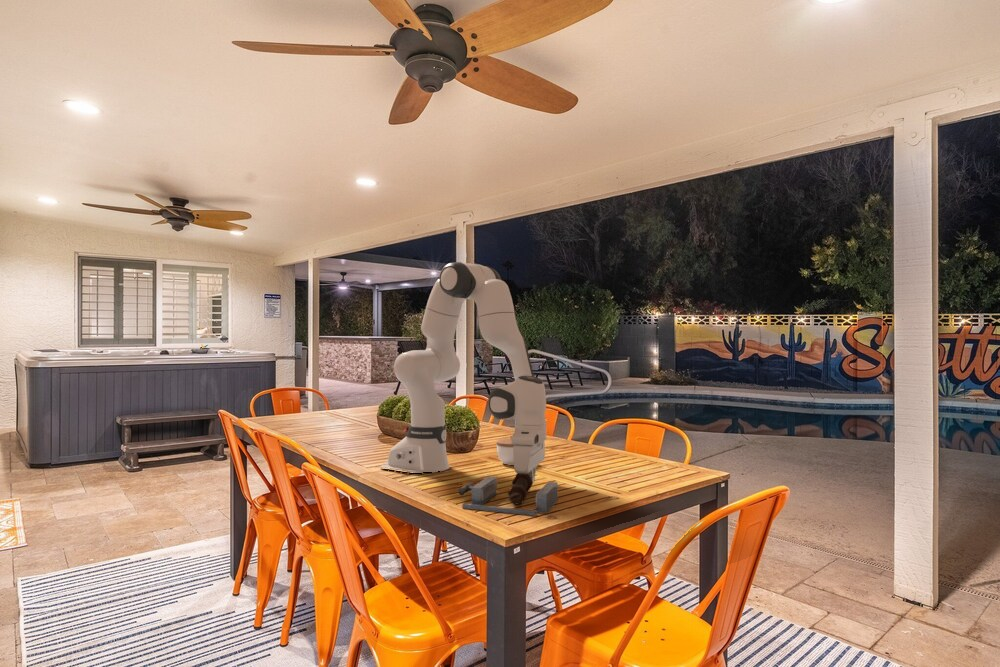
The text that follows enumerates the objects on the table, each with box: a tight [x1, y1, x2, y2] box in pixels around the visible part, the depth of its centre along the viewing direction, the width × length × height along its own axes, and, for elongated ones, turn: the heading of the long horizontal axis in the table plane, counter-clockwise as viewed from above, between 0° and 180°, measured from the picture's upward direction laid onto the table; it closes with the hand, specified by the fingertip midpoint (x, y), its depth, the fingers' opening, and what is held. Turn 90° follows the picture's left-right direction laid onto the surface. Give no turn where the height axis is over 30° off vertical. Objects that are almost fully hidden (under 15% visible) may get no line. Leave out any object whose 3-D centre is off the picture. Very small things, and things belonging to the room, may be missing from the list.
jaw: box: [457, 476, 498, 505], centre depth 149 cm, size 8×12×4 cm, turn 161°
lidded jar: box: [495, 435, 515, 466], centre depth 192 cm, size 11×11×9 cm
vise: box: [461, 481, 559, 517], centre depth 145 cm, size 21×15×5 cm
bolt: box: [507, 473, 534, 505], centre depth 150 cm, size 6×5×15 cm
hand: (530, 482), depth 159 cm, fingers closed
